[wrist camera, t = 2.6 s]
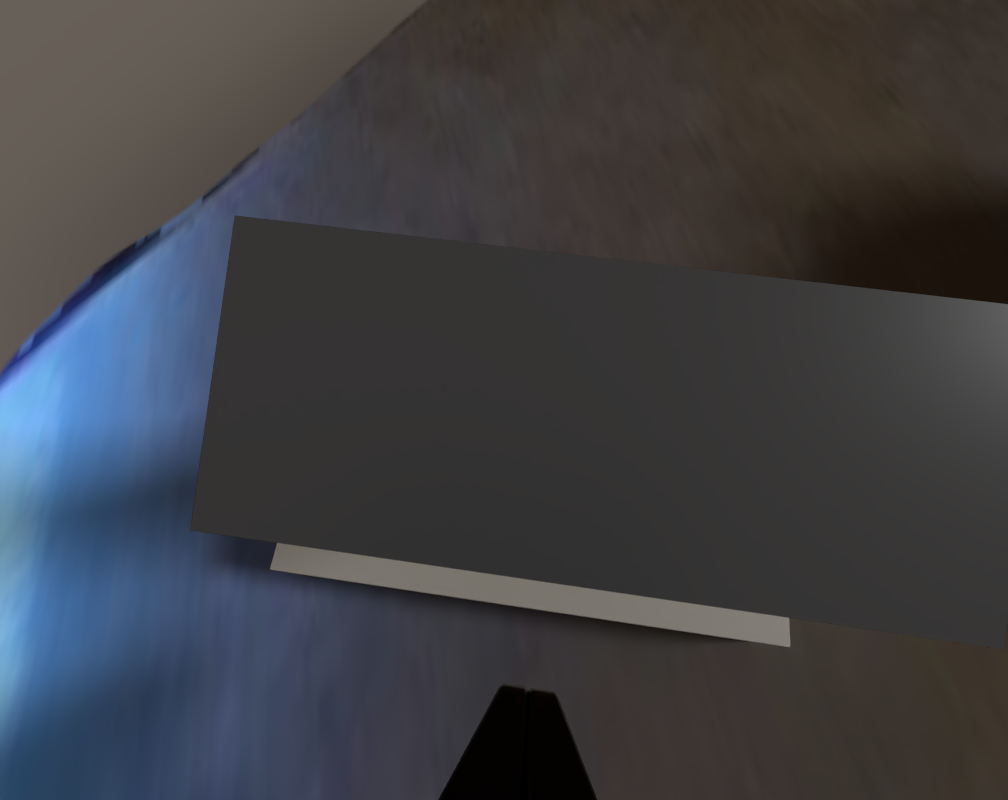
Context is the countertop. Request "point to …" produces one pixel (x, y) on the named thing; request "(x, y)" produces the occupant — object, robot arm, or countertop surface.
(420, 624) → the countertop surface
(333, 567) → the base
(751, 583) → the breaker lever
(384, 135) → the countertop surface
